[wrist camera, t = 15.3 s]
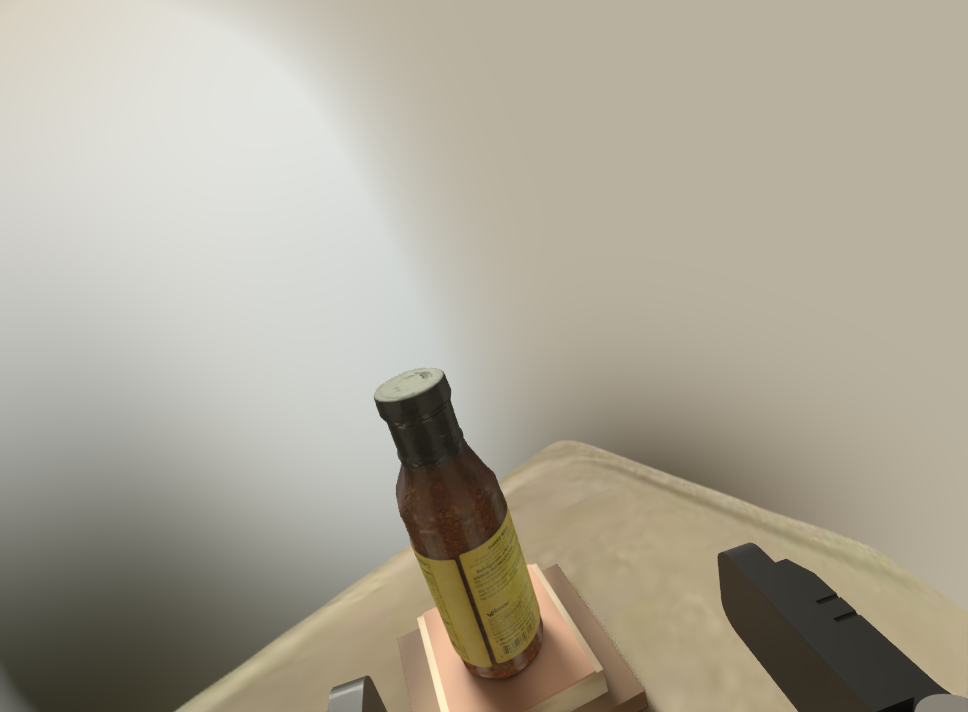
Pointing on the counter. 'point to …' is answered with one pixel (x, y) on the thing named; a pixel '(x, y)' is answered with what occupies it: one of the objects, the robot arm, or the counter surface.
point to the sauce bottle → (460, 529)
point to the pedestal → (539, 686)
